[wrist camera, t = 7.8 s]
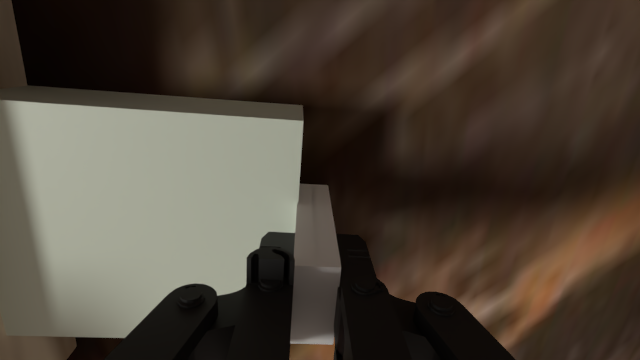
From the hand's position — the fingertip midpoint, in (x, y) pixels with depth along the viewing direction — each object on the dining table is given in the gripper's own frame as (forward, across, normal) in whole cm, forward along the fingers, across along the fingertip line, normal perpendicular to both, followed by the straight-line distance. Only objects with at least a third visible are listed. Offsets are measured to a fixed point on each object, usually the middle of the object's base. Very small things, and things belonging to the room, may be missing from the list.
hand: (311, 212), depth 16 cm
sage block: (+2, -7, 0) cm, 7 cm away
